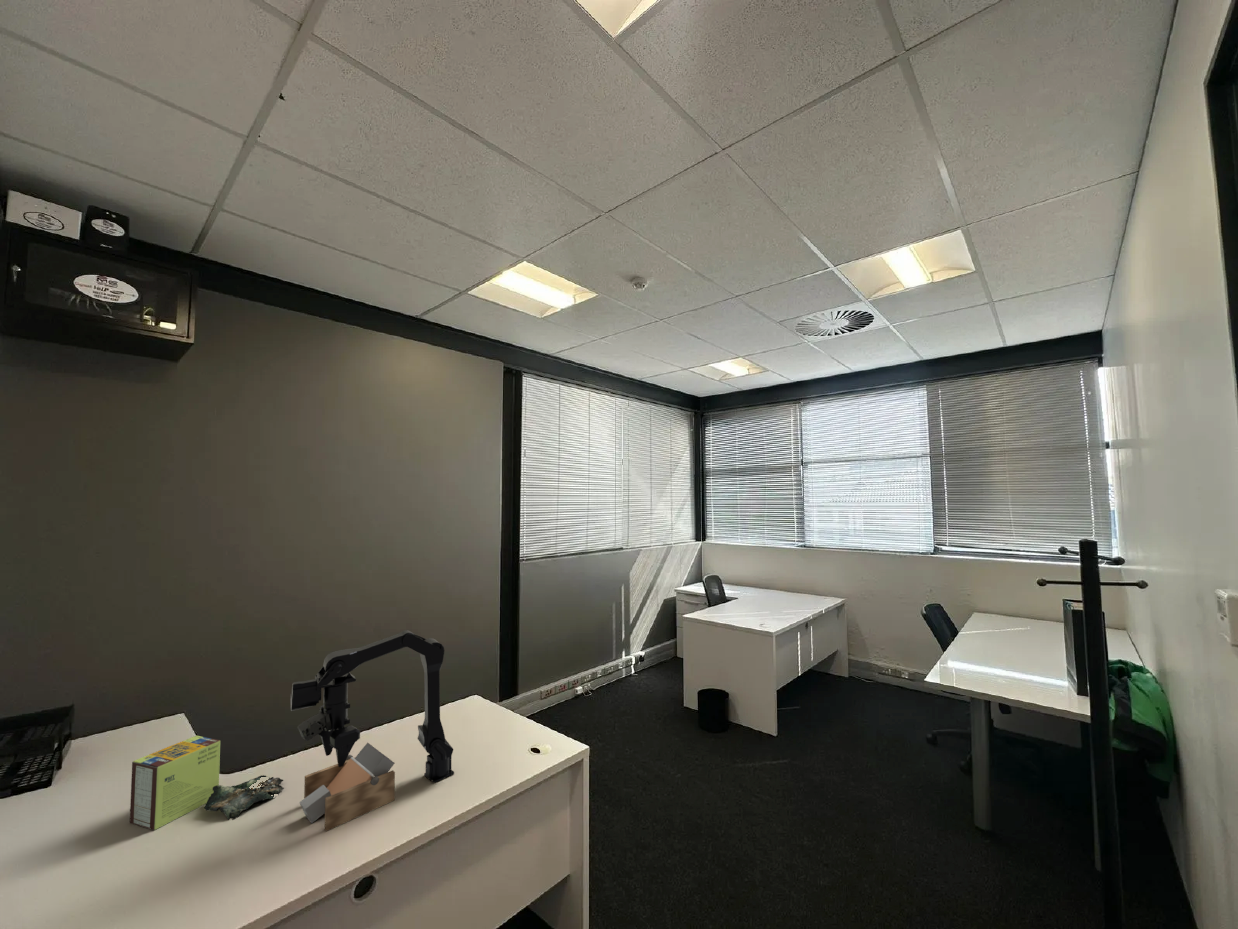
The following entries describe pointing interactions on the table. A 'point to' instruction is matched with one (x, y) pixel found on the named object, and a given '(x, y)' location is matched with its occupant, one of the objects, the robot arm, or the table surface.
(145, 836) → the table surface
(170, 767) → the protein box
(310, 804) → the stone
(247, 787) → the decorative rock
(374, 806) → the trapdoor frame
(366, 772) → the trapdoor
